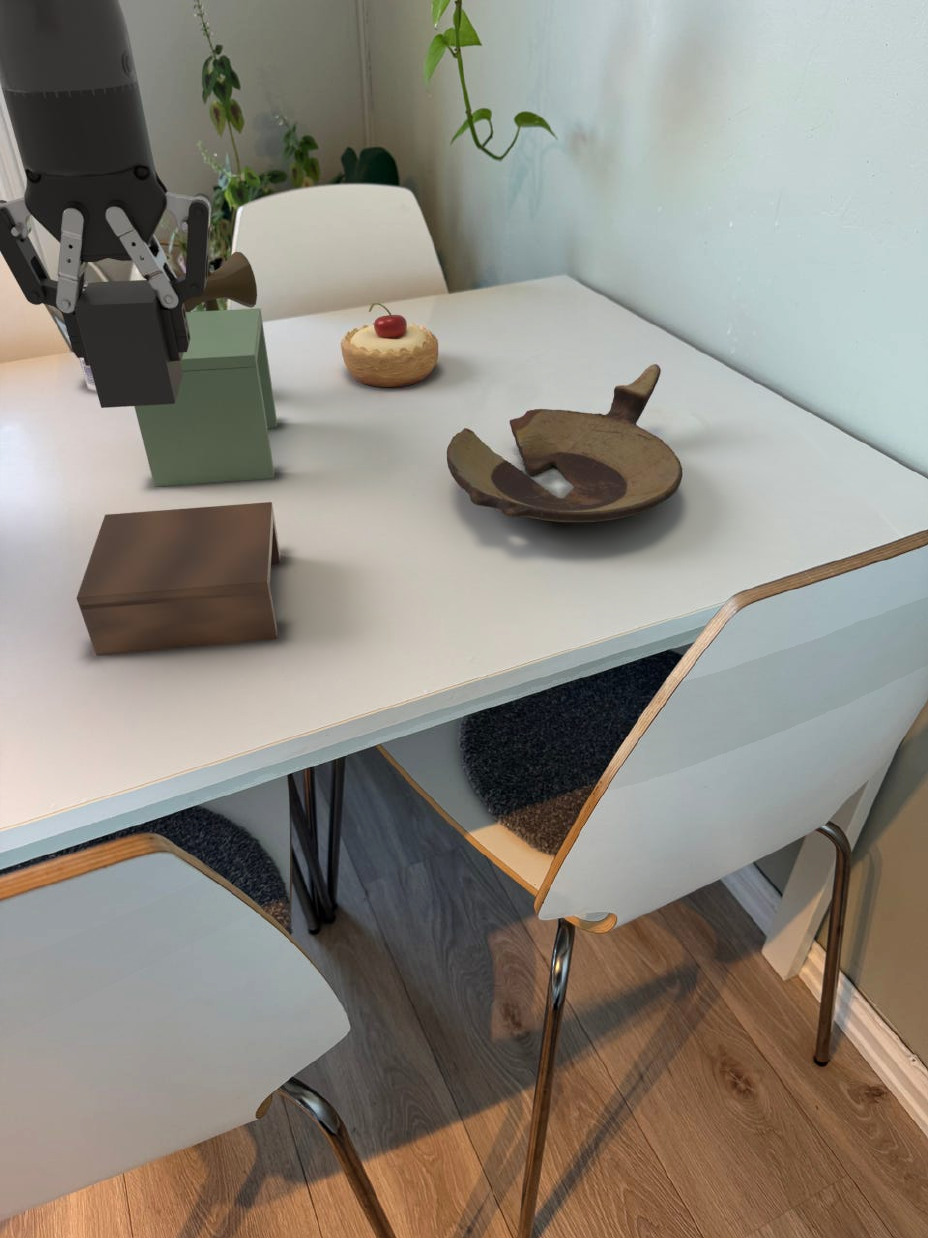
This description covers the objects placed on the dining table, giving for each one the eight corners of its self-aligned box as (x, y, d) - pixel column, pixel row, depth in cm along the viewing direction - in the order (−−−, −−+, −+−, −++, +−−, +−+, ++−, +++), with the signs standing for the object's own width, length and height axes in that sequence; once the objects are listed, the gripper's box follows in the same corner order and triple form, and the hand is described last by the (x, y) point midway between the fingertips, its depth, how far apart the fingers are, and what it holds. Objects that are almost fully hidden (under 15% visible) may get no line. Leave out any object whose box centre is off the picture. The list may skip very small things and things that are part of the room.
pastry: (403, 402, 107) (399, 329, 101) (325, 382, 112) (317, 310, 106) (456, 368, 115) (455, 298, 109) (381, 350, 120) (377, 283, 114)
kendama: (276, 401, 107) (250, 225, 95) (199, 420, 103) (162, 239, 91) (256, 384, 111) (229, 213, 99) (181, 402, 107) (143, 226, 95)
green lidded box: (155, 490, 90) (122, 362, 82) (170, 433, 101) (143, 314, 92) (274, 481, 92) (254, 354, 83) (277, 426, 102) (260, 307, 94)
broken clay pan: (399, 485, 91) (395, 415, 86) (623, 414, 104) (630, 349, 99) (529, 593, 76) (532, 516, 71) (771, 494, 89) (788, 423, 84)
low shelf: (97, 659, 70) (75, 597, 66) (121, 572, 79) (104, 514, 75) (277, 642, 71) (267, 581, 67) (281, 559, 81) (272, 501, 77)
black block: (100, 408, 61) (73, 306, 57) (113, 379, 65) (88, 281, 61) (175, 404, 62) (153, 302, 57) (183, 375, 66) (163, 278, 61)
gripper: (201, 65, 55) (243, 335, 66) (-41, 69, 54) (41, 345, 64) (188, 82, 49) (236, 375, 60) (-84, 87, 48) (14, 387, 58)
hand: (135, 358), depth 62 cm, fingers closed on black block, 5 cm apart
